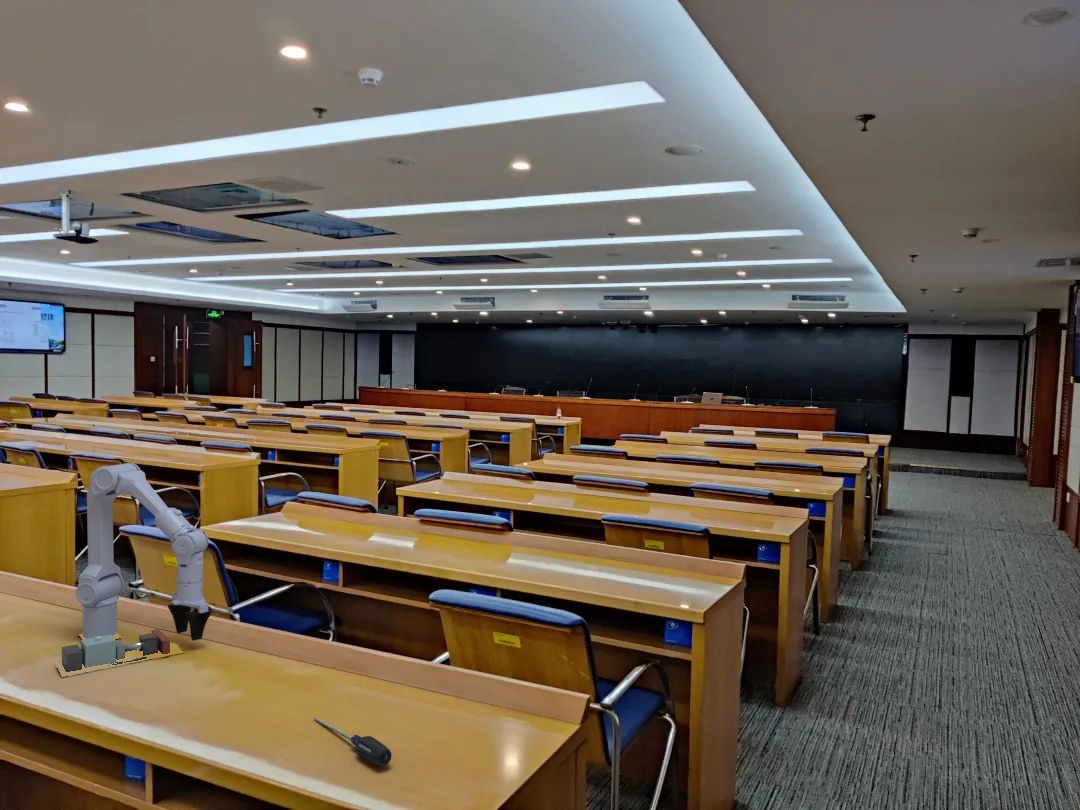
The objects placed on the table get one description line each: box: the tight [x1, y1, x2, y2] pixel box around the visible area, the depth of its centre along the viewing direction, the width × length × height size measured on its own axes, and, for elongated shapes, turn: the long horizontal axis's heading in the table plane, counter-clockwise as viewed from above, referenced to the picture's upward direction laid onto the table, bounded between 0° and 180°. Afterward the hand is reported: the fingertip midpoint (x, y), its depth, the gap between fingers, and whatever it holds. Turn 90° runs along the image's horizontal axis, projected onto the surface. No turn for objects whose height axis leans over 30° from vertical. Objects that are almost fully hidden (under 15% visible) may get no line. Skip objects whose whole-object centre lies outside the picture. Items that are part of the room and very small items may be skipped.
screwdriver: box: [313, 717, 393, 767], centre depth 136 cm, size 26×4×4 cm, turn 43°
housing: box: [80, 635, 116, 668], centre depth 170 cm, size 5×6×6 cm
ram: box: [116, 628, 171, 660], centre depth 175 cm, size 10×10×3 cm
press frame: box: [61, 632, 158, 672], centre depth 173 cm, size 8×25×5 cm, turn 131°
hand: (189, 635), depth 183 cm, fingers open, 7 cm apart
